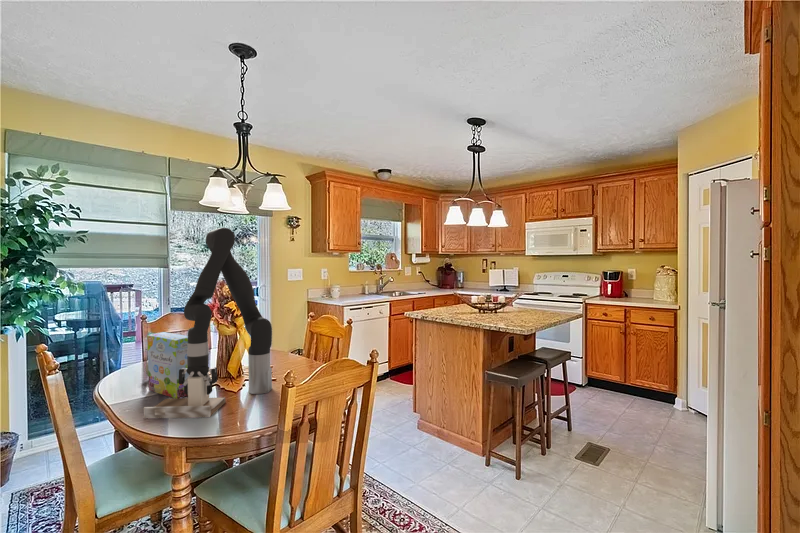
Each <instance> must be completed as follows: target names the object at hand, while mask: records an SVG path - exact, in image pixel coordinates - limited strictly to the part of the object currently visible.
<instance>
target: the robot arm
mask: <svg viewBox="0 0 800 533" xmlns="http://www.w3.org/2000/svg"><path fill="white" fill-rule="evenodd" d="M235 242H236V236H235V233H234V231H232V229H230V228H228V227H219V228H216V229H212V230H210V231H208V233H207V234H206V236H205V243H206V245H207V248H208V249H209V251H210V252H211V253H210V256H209V258H208V260H207V263H206V264H205V265H204V267H203V269H202V271H201V272H200V274H199V277H198V278H197V282H196V285H195V288H194V291H193V293H192V294H191V296H189V298H188V300H187V302H186V304H185V306H184V308H183V316H184V317H185V319H186V320H188V321H191V322H192V321H193V322H194V324H193V326H192V327H191V328H188V330H187V336H188V347H187V366H188V368H181V369H180V370H179V384H183V385H184V393H185V395H188V378H190V377H203V381H205V382H206V384H207V395H209V396H210V394H212V392H213V385H214V384H215V383H218V368H217V367H216V366H215V367H212V368H211V367H209V365H210V364H209V363H210V362H209V342H208V341H209V338H208V336H209V332H208V331H209V329H210V324H211V320H212V316H213V315H212V314H213V313H212V309H211V307H210V306H209V305H208V304H206V303H205V302H206V301H207V300H209V299H211V298H213V296H214V293H215V291H216V287H217V285H218V284H217V283H218V281H219V277H220V274H222V276H223V278H224V281H225V283H226V286H227V288H228V290H229V292H230V295H231V296H232V299H233V301H234V303H235V304H236V306H237V308H238V310H239V312H240V315H241V317H242V319H243V320H242V321H243V323H244V326H245V330H246V332H247V333H248V335H250V346H249V347H248V349H247V350H248V352H247V353H248V359H247V360H248V364H247V365H248V393H249V394H251V395H262V394H269V392H271V390H272V389H273V377H272V376H273V372H272V371H273V370H272V369H273V368H272V367H271V348H272V344H273V343H272V341H273V340H272V339H273V327H272V324H271V322H270V321H269V319H268V318H264V317H263V316H262V314H261V312H260V310H259V309H258V306H257V304H256V299H255V291H254V287H253V285H252V282H251V280H250V277H249V275H248V273H247V272H246V271H245V269H243V267H242V266H241V265H240V264H239V263H238V262H237V260H236V259H235V258H234V256H233V253H232V252H231V251H232V249H233V246H234V245H235ZM186 371H187V373H188V374H189V376H188V378H187V379H186V381H185V373H186ZM208 373H209V375H208ZM210 375H211V376H210ZM205 376H206V377H205Z"/></svg>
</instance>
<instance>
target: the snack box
mask: <svg viewBox="0 0 800 533" xmlns="http://www.w3.org/2000/svg"><path fill="white" fill-rule="evenodd" d="M146 341H147V342H146V344H147V349H148V350H147V362H148V375H149V377H148V390H149V392H154V393H156V394H160V395H162V396H166V397H170V398H186V397H188V395H185V393H184V385H183V384H179V370H180V369H181V368H188V366H187V347H188V335H185V334H179V333H172V332H166V331H161V332H157V333H152V334H147V335H146ZM188 376H189V374H188V373H187V371H186V373H185V381H186V379H187V378H188Z"/></svg>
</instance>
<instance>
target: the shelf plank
mask: <svg viewBox="0 0 800 533" xmlns="http://www.w3.org/2000/svg"><path fill="white" fill-rule="evenodd" d="M224 404H226V397H209V401H207V402H206V403H205V404H204V405H203V406H188V397H182V398H172V397H170V398H164V399H163V400H161V401H160V402H158V403H157V404H156V405H154V406H144V407H143V419H144V418H148V419H183V418H185V419H188V418H193V419H194V418H211V416H213V415H214V414H215V413H216V412H217V411H218V410H219V409H220V408H221V407H222V406H223V405H224Z"/></svg>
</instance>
